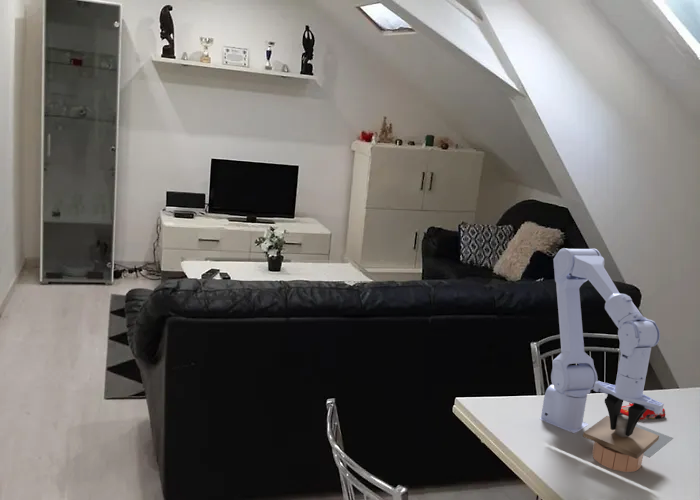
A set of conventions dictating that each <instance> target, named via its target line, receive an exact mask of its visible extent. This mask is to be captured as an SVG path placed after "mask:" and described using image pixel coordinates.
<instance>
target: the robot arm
mask: <svg viewBox="0 0 700 500" xmlns="http://www.w3.org/2000/svg"><path fill="white" fill-rule="evenodd" d="M552 260H553V269H554V270H553V271H554V282H555V284H556V285H555V286H556V297H557V309H558V310H557V313H558V324H559V336H560V338H559V339H560V348H561V349H560V350H561V351H560V353H559V354H558V355H557V356H556V357H555V358H554V359H553V360H552V369H551V373H550V380H551V381H550V382H551V384H549V386H548V387H547V388H546V390H545V393H544V397H543V401H542V402H543V403H542V408H541V409H542V410H541V416H540V417H539V420H541V421H543V422H545V423H547V424H550V425H553V426H555V427H558V428H560V429H562V430H565V431H566V432H570V433H572V434H577V433H578V432H579V431H581V430H583V429H584V428H586V427H587V426H589V425H590V424H589V423H587V422H586V421H585V422H584V416H585V411H586V405H587V404H586V403H587V400H588V399H587V398H588V395H590V394H591V390H593V391H594V392H596V393H599V392H600V393H601V394H605V395H606V397H605V398H604V404H605V407H606V409H607V411H608V416H609V417H610V428H611V430H615V427H616V421H617V416H618V415H620V411H621V407H622V406H623V404H624V402H627V403H631V404H633V406H630V407H629V408H628V424H627V428H626V436H630V435H631V434H632V433H633V430H634V428H635V426H636V424H638V422H639V421H640V420H639V419H640V418H641V416H642V415H643V414H644V413H645V411H646V410H647V409H649V410H652V411H654V413H657V414H660V413H661V412H662V411H663V408H664V405H665V403H663V402H660V401H658V400H656V399H654V398H652V397H649V396H648V395H646V394H644V388H645V384H646V377H647V374H648V368H649V363H650V358H651V352H652V347H653V348H654V347H655V346H657V345H658V343H659V341H660V338H661V332H660V327H659V326H658V325H657V323H656V321H655V320H652V319H649V318H647V317H646V316H643V314H642V312H640V311H639V309H638V307H637V306H636V305H635V304H634V302H633V299H632V298H631V296H630V295H628V294H626V293H620V292H619V290H618V288H617V286H616V284H615V283H614V281H613V280H612V278H611V276H610V275H609V273H608V271H607V270H606V268H605V258H604V257H603V256H602V254H601V252H600V251H599V250H598V249H597V248H565V247H563V248H561V249H559V250H558V252H557V253H556V254H555V256H554V258H553V259H552ZM587 281H588V282H589V283H591V285H592V286H593V287H594V289H595V290H596V291H597V292H598V293H599V294H600V296H601V297H602V298H603V300H604V301H605V303H604V310H605V311H606V313H607V314H608V316H609V318H611V320H612V322H613V323H614V325H615V326H616V327H617V328H618V329H617V336H618V340H619V352H620V357H619V363H618V368H617V374H616V380H615V384H611V383H608V382H603V381H600V380H598V373H597V370H596V368H595V365H594V359H593V358H592V357H591V356H590V355H588V353H586V351H585V343H584V331H583V320H582V319H583V318H582V308H581V307H582V306H581V296H580V295H581V293H580V288H581V286H583V284H584V283H586V282H587ZM572 364H574V365H572Z"/></svg>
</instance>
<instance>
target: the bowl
mask: <svg viewBox="0 0 700 500" xmlns="http://www.w3.org/2000/svg"><path fill="white" fill-rule="evenodd" d="M592 446H593V447H592V450H591V451H592V457H593V460H595V461H596V462H598V464H599V465H602V466H604V467H606V468H608V471H610V470H613V471H618V472H624V473H630V472H631V473H632V472H636V471H638V470H640V468H642V464H643V458H644V455H643V454H644V453H643V454H642V455H641V456H640V457H638V458H637V459H636V458H633V457H631V456H629V455H626V454H624V453H621V452H619V451H616V450H614V449H612V448H609V447H607V446H604V445H602V444H600V443H597V442H595V441H593V445H592ZM604 467H601V468H604Z"/></svg>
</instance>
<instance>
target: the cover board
mask: <svg viewBox="0 0 700 500" xmlns="http://www.w3.org/2000/svg"><path fill="white" fill-rule="evenodd" d="M627 424H628V416H626V415H618V416H617V421H616V427H615V430H611V428H610V417H609V415H606V416H604V417H602V419H600V420H599V421H597V422H596V423H595V424H593V425H592V426H590V427H589V428H588V429H586V430H585V431H583V434H582V437H583V438H586V439H587V440H589V441H593V442H594V441H595V442H597V443H600V444H602V445H604V446H607V447H609V448H612V449H614V450H616V451H619V452H621V453H624V454H626V455H629V456H631V457H633V458H636V459H637V458H638V457H640V456H641V455H642V454H643V453H644V452H645V451H646V450H647V449H649V448H650V447H651V446H652V445H653V444H654V443H655V442H656V441H658V440H659V435H656V434H654V433H651V432H648V431H646V430H643V429H640V428H638V427H635V428H634V430H633V433H632V434H631V435H630V436H626V428H627Z"/></svg>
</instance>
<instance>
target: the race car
mask: <svg viewBox="0 0 700 500" xmlns="http://www.w3.org/2000/svg"><path fill="white" fill-rule="evenodd" d="M630 406H633V404H632V403H630V402H628V405H627V404H626V405H622V407H621V411H620V415H626V416H628V408H629V407H630ZM665 418H666V410H665V408H664V407H663V411H662V412H661V413H660V414H657V413H654V411H652V410H649V409H647V410H646V411H645V413H644V414H643V415H642V416H641V418H640V419H639V421H640V420H658V419H665Z"/></svg>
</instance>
